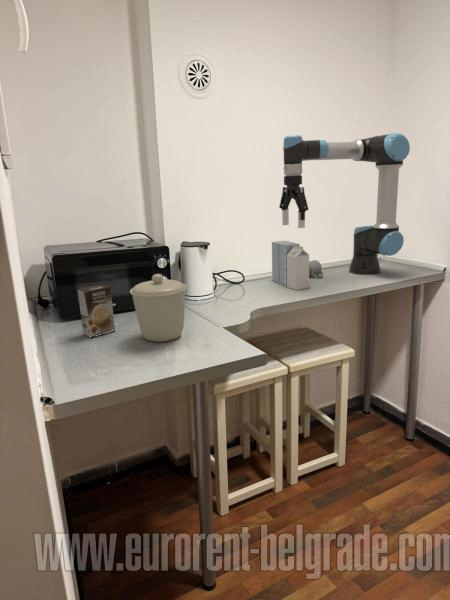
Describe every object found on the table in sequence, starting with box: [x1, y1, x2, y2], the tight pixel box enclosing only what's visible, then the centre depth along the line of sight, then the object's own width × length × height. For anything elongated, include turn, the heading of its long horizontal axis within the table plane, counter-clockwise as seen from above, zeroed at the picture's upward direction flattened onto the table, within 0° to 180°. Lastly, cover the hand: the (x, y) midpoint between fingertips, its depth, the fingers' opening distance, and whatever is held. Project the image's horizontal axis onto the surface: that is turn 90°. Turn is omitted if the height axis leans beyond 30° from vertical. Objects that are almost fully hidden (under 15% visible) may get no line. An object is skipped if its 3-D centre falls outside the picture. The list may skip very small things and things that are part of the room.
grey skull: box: [309, 259, 324, 279], centre depth 214 cm, size 11×8×8 cm
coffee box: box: [77, 284, 116, 337], centre depth 146 cm, size 9×6×16 cm
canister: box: [129, 273, 188, 343], centre depth 139 cm, size 18×18×21 cm
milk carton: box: [287, 245, 310, 291], centre depth 192 cm, size 7×7×19 cm
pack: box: [271, 240, 301, 288], centre depth 203 cm, size 7×14×19 cm, turn 21°
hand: (293, 226), depth 185 cm, fingers open, 13 cm apart
